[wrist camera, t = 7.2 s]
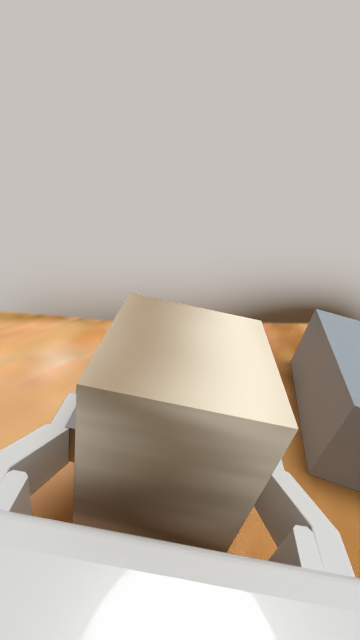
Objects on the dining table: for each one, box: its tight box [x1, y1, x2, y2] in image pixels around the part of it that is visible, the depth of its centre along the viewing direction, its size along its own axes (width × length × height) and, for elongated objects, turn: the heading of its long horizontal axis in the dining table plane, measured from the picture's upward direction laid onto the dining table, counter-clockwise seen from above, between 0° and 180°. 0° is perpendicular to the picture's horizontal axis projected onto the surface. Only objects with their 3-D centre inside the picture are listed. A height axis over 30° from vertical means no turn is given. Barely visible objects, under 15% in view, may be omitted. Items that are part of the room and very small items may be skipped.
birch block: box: [73, 293, 298, 553], centre depth 11 cm, size 5×5×10 cm
